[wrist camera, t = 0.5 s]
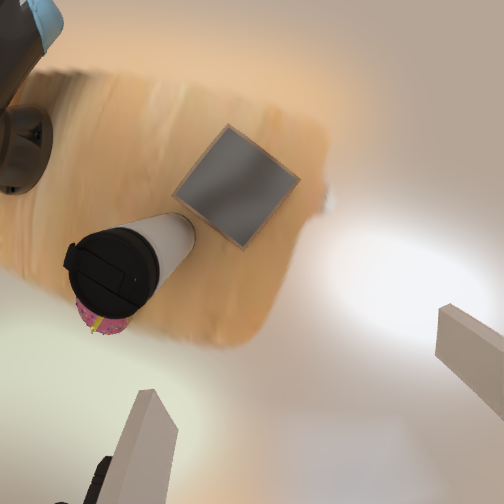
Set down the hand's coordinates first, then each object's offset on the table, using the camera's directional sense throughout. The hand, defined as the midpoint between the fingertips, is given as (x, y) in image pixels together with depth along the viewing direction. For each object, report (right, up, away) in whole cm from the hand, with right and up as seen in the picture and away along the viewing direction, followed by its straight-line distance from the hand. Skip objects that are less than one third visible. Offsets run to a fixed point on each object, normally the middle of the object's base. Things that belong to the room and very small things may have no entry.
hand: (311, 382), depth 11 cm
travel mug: (-13, +8, +25) cm, 29 cm away
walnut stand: (-4, +13, +24) cm, 28 cm away
